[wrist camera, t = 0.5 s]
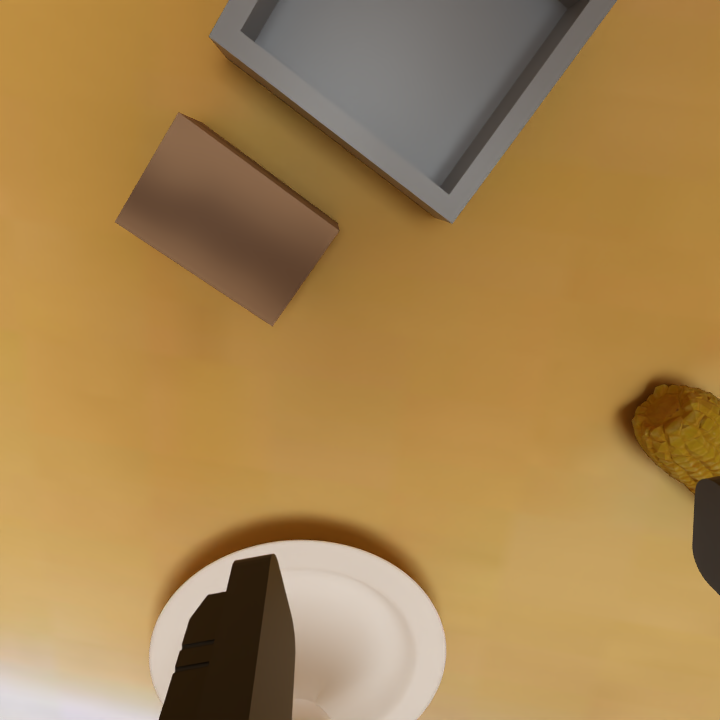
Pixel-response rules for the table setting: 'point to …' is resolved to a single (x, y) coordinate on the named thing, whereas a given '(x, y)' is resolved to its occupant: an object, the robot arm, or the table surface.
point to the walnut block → (227, 219)
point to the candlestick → (331, 631)
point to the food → (681, 432)
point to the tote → (412, 77)
